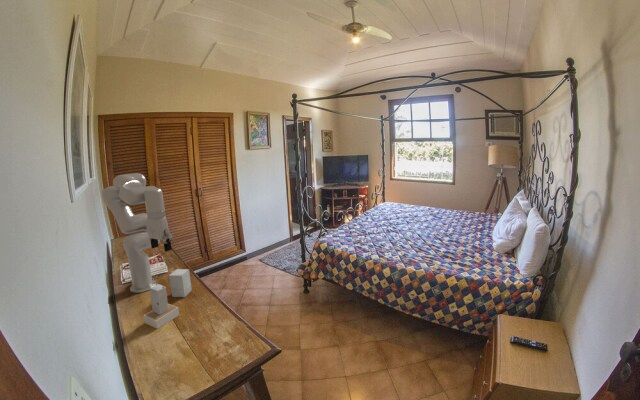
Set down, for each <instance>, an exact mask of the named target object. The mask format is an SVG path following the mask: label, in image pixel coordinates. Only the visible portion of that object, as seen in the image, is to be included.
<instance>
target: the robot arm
mask: <svg viewBox="0 0 640 400" xmlns="http://www.w3.org/2000/svg"><path fill="white" fill-rule="evenodd" d="M146 185H147V179H146V176H144V175H143V174H142V173H138V172H136V173H135V172H134V173H125V174H120V175H116V176H115V177H114V178H113V180H112V185H111V186H107V187H106V188H103V190H101V196H102V199H103V202H104V204H105V205H106V207H107V208H108V209H109V210H110V211H111V213H112V214H113V216H114V219H115V221H116V223H117V226H118V228H119V230H120V232H121V233H122V234H124V235H125V234H126V235H127V236H125V237H124V238H123V239H122V245H123V248H124V251H125V253H126V257H127V261H128V265H129V266H128V267H129V271H130V278H131V279H130V282H131V283H132V285H131V286H130V287H129V291H130V292H131V293H135V294H136V293H137V294H138V293H144V292H147V291H150V288H151V287H152V286H154V285H156V284H157V282H156V280H155V279H153V276H152V269H151V263H150V258H149V257H150V256H149V255H148V254H147V253H146V252H145V251H143V250H145V249H149V248H151V249H155V248H158V247H159V244H160V243H161V241H162V242H163V248H164V252H166V253H167V252H169V251H172V249H173V248H172V241H173V234H172V233H171V232H170V228H169V223H168V220H167V214H166V209H165V201H164V194H163V193H164V192H163V190H162V189H161V188H159V187H156V186H154V185H148V186H146ZM140 204H144V205H145V210H146V212H143V213H138V214H134V212H133V210H132V208H131V207H130V206H136V205H140ZM129 205H130V206H129Z"/></svg>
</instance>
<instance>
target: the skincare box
mask: <svg viewBox="0 0 640 400" xmlns="http://www.w3.org/2000/svg"><path fill="white" fill-rule="evenodd" d="M149 293H150V294H149V296H150V300H151V301H150V302H151V309H152V310H151V311H153V312H155V313H157V314H159V315H161V314H163V313H164V312H166V311H168V304H169V303H168V302H169V301H168V294H167V287H166V286H164V285H162V284H159V283H156V285H154V286H152V287H151V288H150V290H149Z"/></svg>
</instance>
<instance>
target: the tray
mask: <svg viewBox="0 0 640 400" xmlns="http://www.w3.org/2000/svg"><path fill="white" fill-rule="evenodd" d="M179 310H180V308H179V307H178V306H176V305H173V304H170V303H168V311H166V312H164V313H163V314H161V315H159V314H157V313H155V312H153V311H152V310H151V311H149V312H147V313H145V314H143V319H144V324H146V325H149V326H151V327H153V328H155V329H160V328H161V327H162V326H165V325H166V324H168V323H169V322H171V321H172V320H174V319H176V318H177V317H178V316H180V311H179Z"/></svg>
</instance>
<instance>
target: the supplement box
mask: <svg viewBox="0 0 640 400" xmlns="http://www.w3.org/2000/svg"><path fill="white" fill-rule="evenodd" d="M168 279H169V285H170V290H171V297H172V298H173V297H174V298H175V297H176V298H185V297H187V296H188V294H190V293H191V292H192V291H193V290H192V289H193V288H192V283H191V276H190V269H189V268H188V269H185V268H184V269H183V268H182V269H178V268H177V269H175V270H174V271H172V272H171V273H169V275H168Z"/></svg>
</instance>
